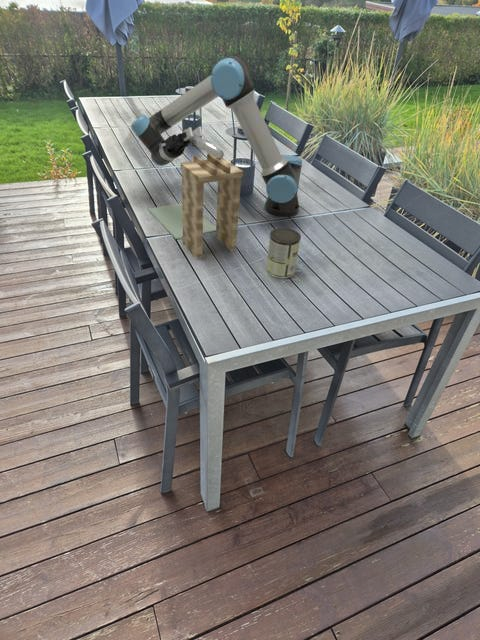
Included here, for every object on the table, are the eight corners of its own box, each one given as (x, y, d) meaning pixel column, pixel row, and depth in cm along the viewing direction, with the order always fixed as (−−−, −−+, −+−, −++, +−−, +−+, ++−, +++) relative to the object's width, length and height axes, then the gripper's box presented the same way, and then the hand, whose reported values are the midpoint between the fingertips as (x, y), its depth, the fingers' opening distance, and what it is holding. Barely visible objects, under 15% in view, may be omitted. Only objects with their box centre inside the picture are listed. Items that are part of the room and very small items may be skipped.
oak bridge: (181, 242, 164) (180, 156, 144) (219, 234, 171) (222, 151, 151) (198, 260, 155) (199, 171, 135) (237, 251, 162) (243, 165, 142)
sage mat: (148, 210, 184) (148, 208, 184) (187, 203, 192) (187, 202, 192) (176, 239, 166) (176, 238, 166) (217, 231, 174) (217, 229, 173)
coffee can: (269, 260, 159) (273, 225, 150) (297, 266, 157) (303, 230, 148) (262, 275, 151) (266, 238, 142) (291, 281, 149) (298, 244, 140)
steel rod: (181, 136, 153) (183, 128, 151) (188, 138, 154) (191, 130, 153) (214, 158, 137) (217, 149, 136) (221, 160, 139) (225, 151, 138)
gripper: (193, 156, 171) (219, 140, 151) (154, 160, 164) (176, 145, 144) (188, 136, 170) (214, 117, 149) (149, 140, 162) (171, 121, 142)
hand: (196, 131), depth 146 cm, fingers closed on steel rod, 3 cm apart
